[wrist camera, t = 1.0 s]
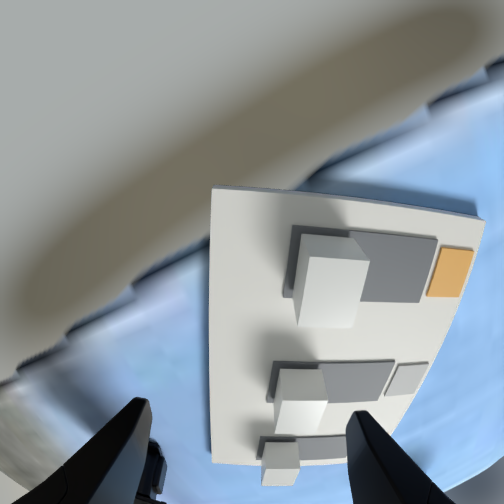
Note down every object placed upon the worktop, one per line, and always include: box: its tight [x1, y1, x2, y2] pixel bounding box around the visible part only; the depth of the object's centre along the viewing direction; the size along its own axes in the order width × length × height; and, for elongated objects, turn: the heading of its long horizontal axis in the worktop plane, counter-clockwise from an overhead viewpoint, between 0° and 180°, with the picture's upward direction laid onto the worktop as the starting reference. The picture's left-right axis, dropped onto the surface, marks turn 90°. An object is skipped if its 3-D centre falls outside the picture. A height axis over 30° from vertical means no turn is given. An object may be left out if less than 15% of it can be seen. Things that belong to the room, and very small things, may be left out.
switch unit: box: [209, 185, 486, 466], centre depth 23 cm, size 18×28×1 cm, turn 176°
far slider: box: [261, 442, 300, 486], centre depth 25 cm, size 3×4×3 cm
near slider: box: [292, 234, 370, 328], centre depth 17 cm, size 3×4×3 cm
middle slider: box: [273, 369, 328, 434], centre depth 21 cm, size 3×4×3 cm
